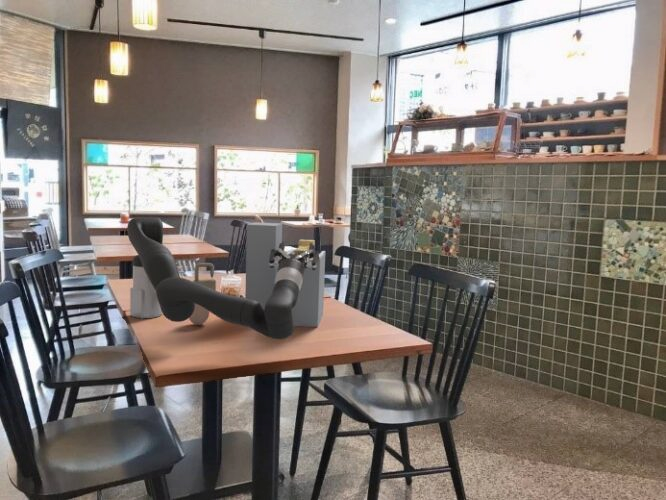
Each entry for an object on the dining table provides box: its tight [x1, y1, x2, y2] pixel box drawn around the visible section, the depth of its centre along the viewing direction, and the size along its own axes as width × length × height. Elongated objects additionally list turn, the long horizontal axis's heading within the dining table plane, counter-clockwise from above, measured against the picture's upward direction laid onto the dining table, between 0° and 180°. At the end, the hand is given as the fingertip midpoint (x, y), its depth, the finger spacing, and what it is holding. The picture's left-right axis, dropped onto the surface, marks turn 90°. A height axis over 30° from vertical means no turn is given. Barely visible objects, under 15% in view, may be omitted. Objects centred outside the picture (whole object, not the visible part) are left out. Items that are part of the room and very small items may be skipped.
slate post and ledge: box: [244, 221, 326, 328], centre depth 187 cm, size 20×26×32 cm
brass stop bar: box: [293, 239, 316, 258], centre depth 181 cm, size 20×5×5 cm, turn 176°
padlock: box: [192, 262, 217, 291], centre depth 209 cm, size 4×8×15 cm, turn 119°
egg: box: [188, 304, 210, 326], centre depth 175 cm, size 7×7×9 cm
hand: (297, 244), depth 166 cm, fingers open, 8 cm apart
